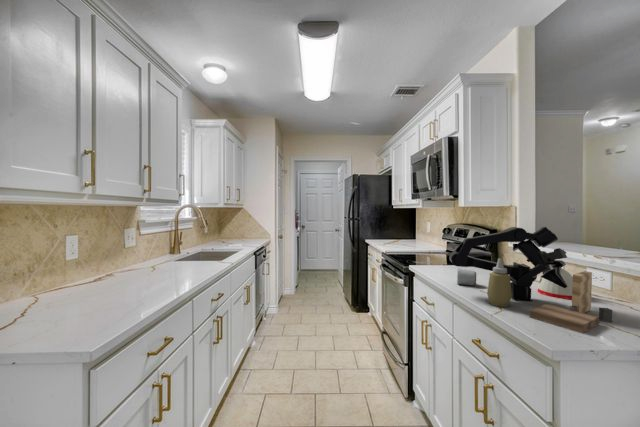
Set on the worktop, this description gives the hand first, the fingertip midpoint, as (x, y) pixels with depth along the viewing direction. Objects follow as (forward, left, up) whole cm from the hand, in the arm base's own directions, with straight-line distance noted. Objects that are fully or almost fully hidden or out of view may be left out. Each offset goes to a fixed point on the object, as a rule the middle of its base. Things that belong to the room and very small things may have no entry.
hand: (566, 287), depth 105 cm
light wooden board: (+2, -4, -8) cm, 9 cm away
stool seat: (-9, -13, -8) cm, 17 cm away
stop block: (+6, -10, -8) cm, 14 cm away
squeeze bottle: (-23, 0, -8) cm, 24 cm away
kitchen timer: (+9, +20, -8) cm, 24 cm away
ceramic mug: (-26, +30, -8) cm, 40 cm away
